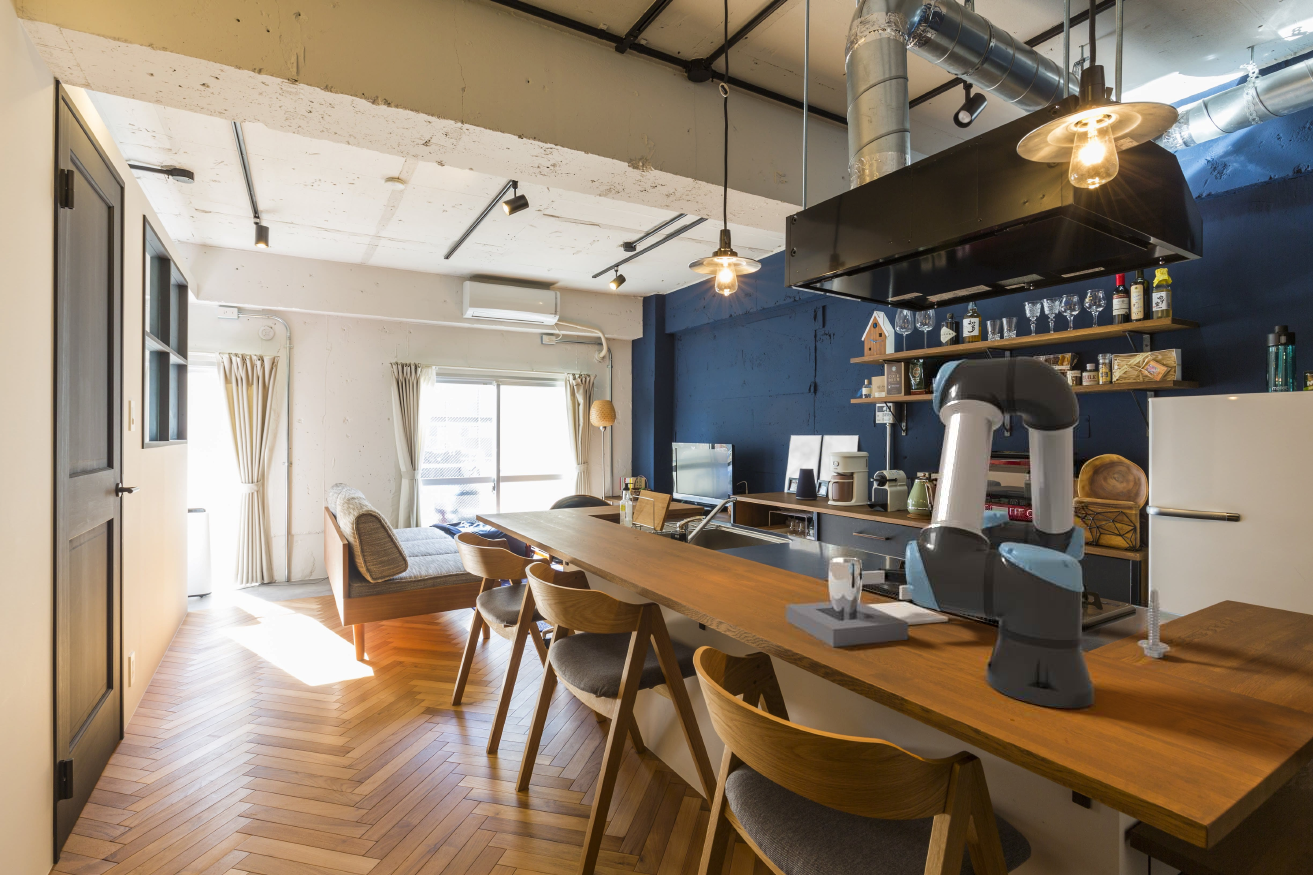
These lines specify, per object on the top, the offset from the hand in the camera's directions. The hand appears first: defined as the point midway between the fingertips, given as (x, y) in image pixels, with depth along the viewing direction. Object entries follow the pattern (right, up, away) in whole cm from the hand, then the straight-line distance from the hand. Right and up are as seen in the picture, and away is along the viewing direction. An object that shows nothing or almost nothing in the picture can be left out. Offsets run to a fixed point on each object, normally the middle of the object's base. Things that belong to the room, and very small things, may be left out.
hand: (879, 585), depth 135 cm
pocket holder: (-9, -9, -3) cm, 13 cm away
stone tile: (+9, -9, +9) cm, 15 cm away
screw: (+47, -10, -16) cm, 51 cm away
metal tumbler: (-9, -9, -3) cm, 13 cm away
